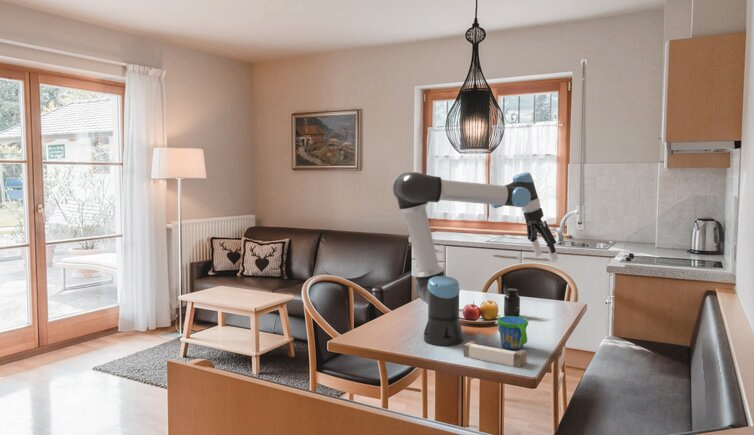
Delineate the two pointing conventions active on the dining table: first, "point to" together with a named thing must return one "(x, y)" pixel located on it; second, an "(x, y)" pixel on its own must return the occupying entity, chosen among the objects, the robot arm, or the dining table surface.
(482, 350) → the rail
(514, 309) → the supplement bottle
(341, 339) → the dining table surface
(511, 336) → the snack cup
